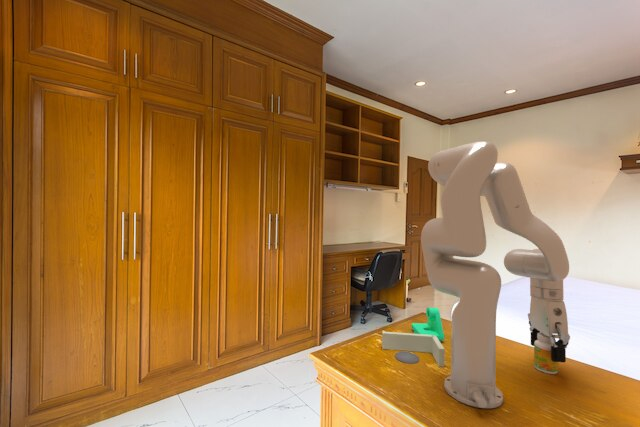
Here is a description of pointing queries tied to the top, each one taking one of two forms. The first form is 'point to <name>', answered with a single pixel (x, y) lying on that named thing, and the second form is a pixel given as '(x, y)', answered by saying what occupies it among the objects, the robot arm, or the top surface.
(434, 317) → the camera mount
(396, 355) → the pad
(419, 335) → the corner walls
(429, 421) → the top surface
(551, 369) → the supplement bottle
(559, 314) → the robot arm
